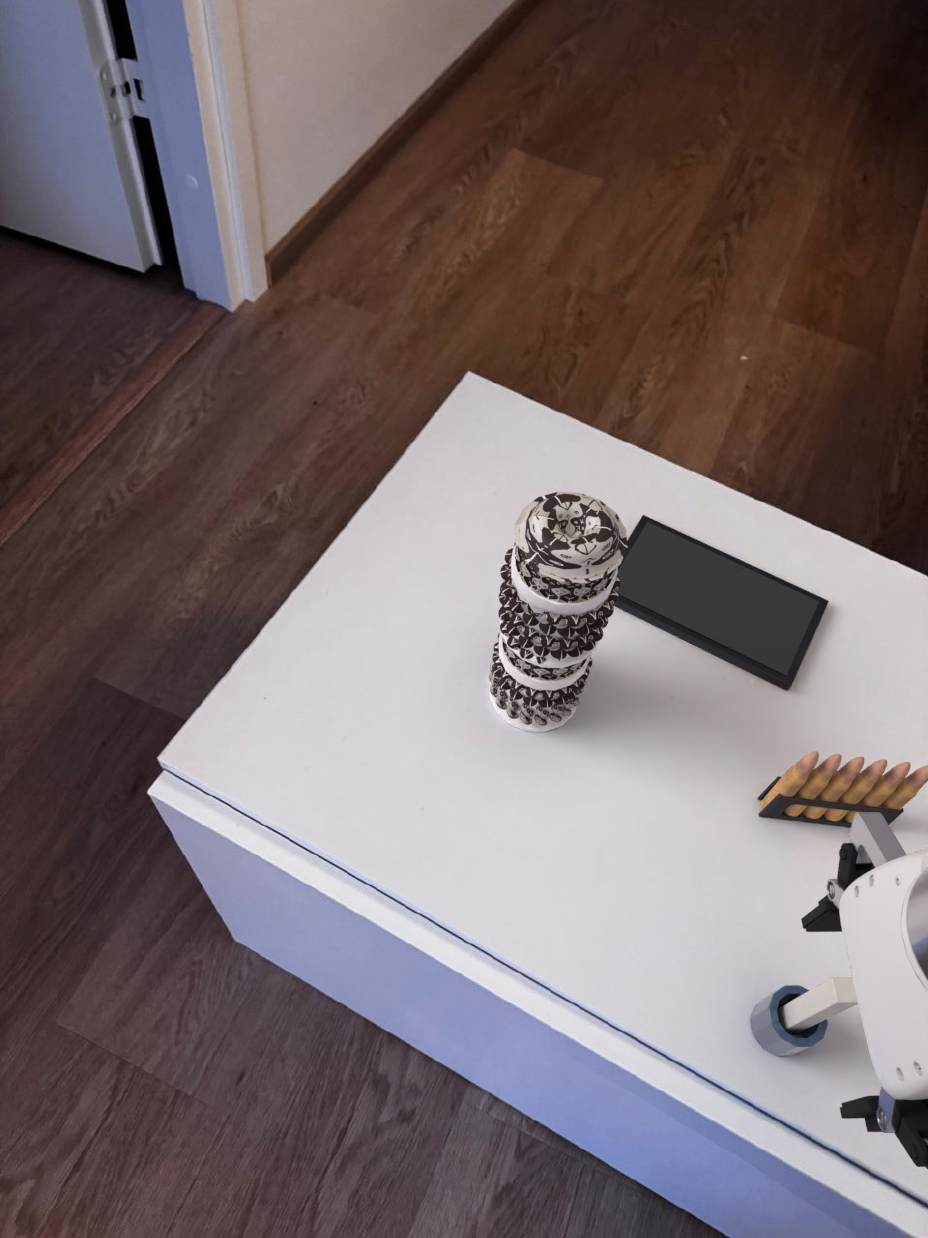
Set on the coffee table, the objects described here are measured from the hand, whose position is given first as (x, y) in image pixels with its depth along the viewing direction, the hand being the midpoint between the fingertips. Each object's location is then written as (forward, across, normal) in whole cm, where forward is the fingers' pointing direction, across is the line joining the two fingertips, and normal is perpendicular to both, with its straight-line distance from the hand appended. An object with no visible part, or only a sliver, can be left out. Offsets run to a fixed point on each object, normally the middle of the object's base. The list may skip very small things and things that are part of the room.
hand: (846, 1014), depth 54 cm
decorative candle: (+23, +32, +13) cm, 41 cm away
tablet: (+22, +42, -5) cm, 48 cm away
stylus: (+22, +3, -4) cm, 22 cm away
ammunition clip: (+23, +20, -11) cm, 32 cm away
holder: (+22, +3, -4) cm, 23 cm away
